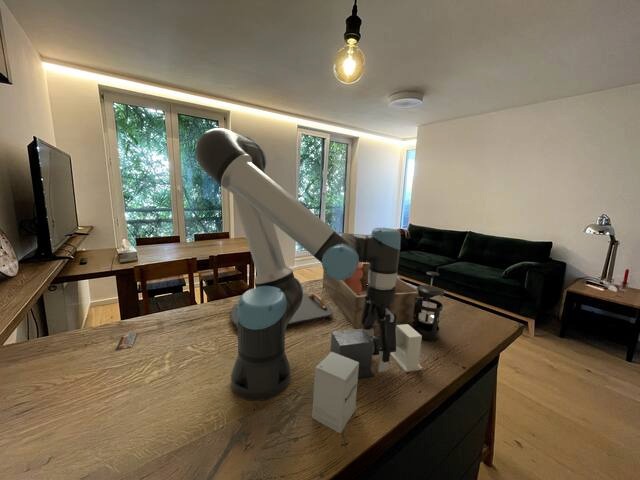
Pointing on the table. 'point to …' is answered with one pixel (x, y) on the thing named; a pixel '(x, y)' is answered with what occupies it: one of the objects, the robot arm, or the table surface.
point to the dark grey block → (354, 349)
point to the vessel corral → (355, 304)
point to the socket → (407, 348)
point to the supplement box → (335, 391)
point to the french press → (427, 319)
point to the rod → (376, 344)
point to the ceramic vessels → (355, 279)
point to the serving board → (301, 310)
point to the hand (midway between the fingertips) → (374, 359)
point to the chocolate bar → (127, 341)
